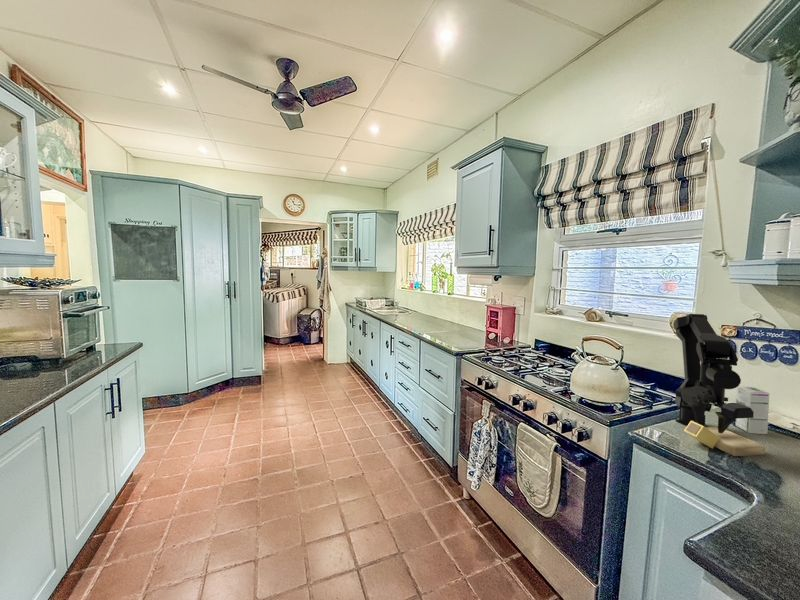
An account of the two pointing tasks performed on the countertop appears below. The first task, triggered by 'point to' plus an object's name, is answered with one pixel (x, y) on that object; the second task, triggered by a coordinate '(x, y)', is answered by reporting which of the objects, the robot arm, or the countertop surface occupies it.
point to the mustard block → (701, 434)
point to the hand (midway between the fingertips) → (709, 428)
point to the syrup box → (760, 407)
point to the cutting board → (736, 444)
